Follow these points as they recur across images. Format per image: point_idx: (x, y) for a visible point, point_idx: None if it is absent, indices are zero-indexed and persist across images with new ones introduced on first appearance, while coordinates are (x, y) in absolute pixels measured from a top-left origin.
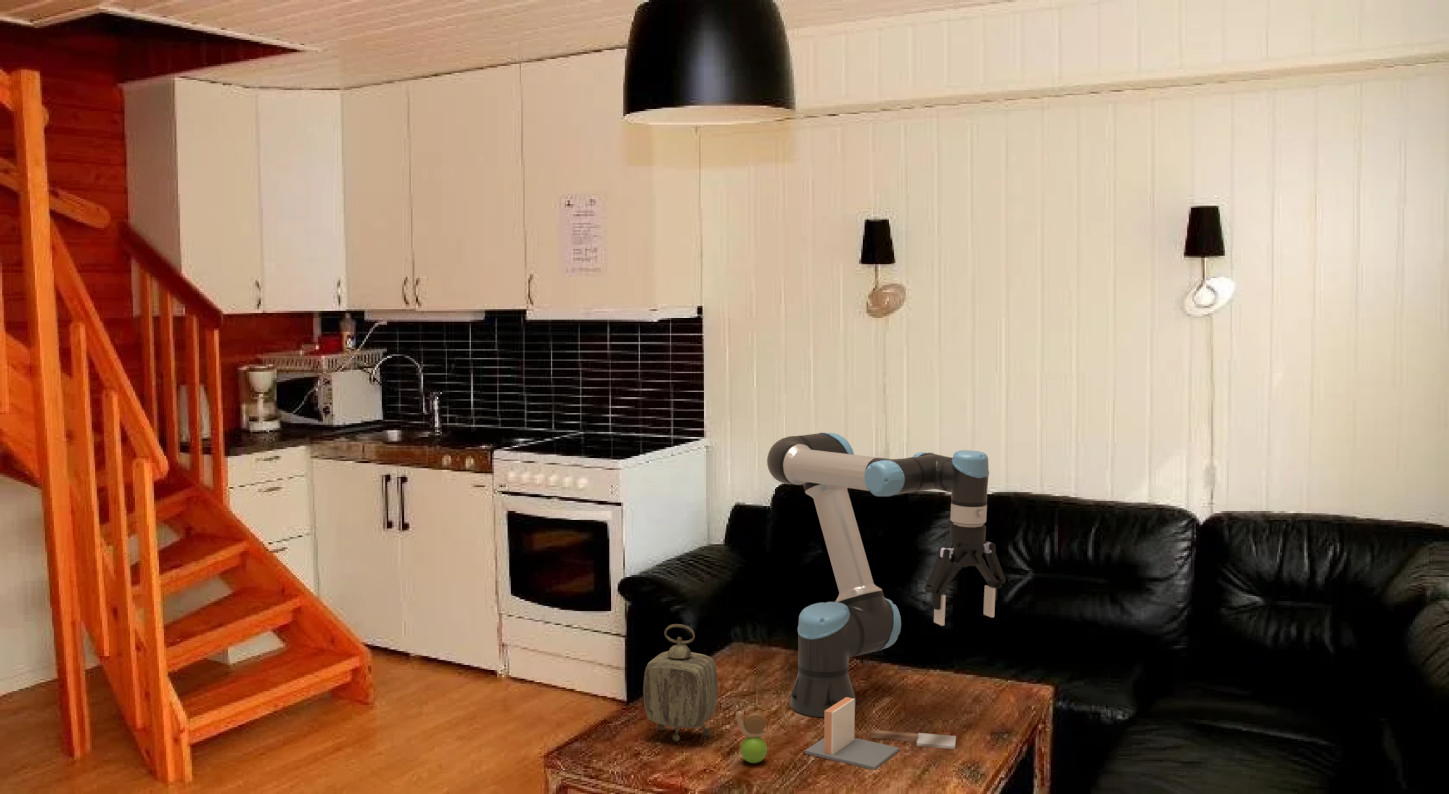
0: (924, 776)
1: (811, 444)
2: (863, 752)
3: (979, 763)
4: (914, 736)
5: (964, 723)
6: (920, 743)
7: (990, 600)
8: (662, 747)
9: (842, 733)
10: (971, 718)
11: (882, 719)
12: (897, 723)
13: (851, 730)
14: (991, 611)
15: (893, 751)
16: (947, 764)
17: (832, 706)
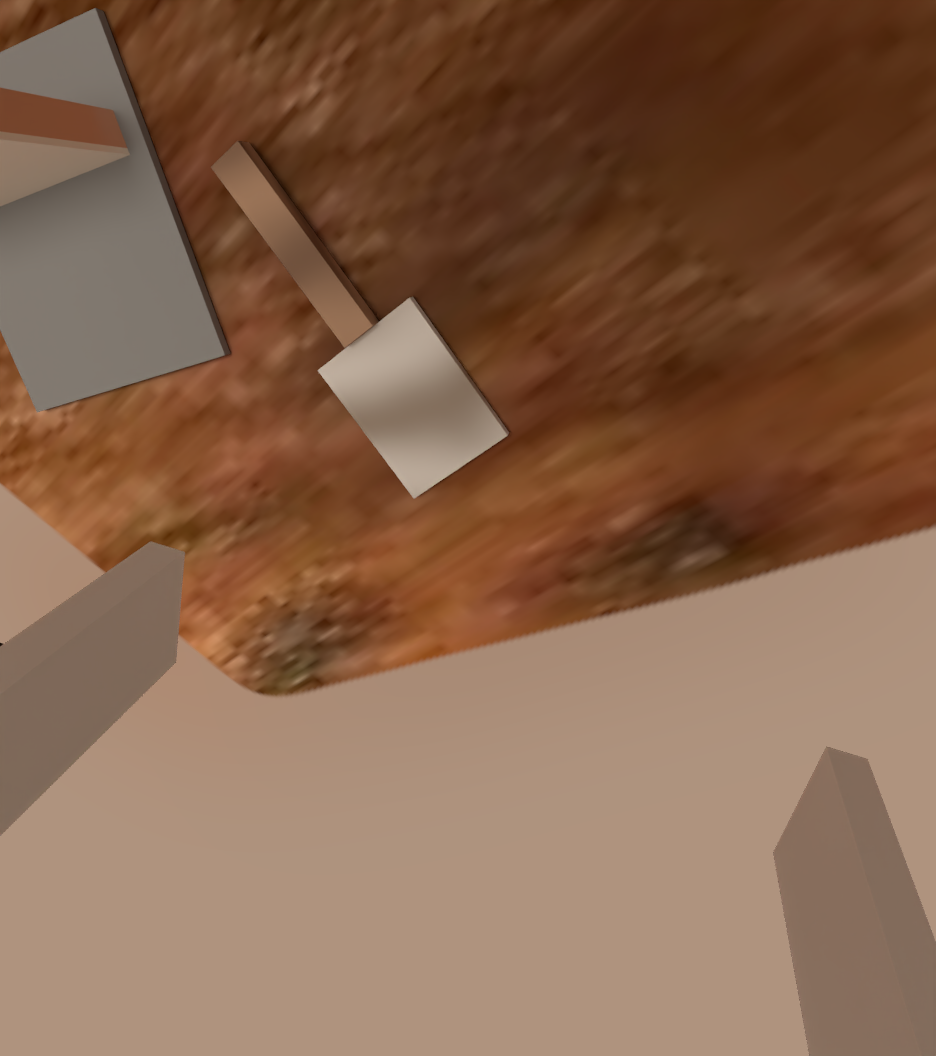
0: None
1: None
2: (80, 287)
3: (378, 630)
4: (336, 336)
5: (698, 347)
6: (327, 383)
7: (817, 998)
8: None
9: None
10: (787, 329)
11: (439, 12)
12: (454, 113)
13: (71, 161)
14: (787, 900)
15: (181, 364)
16: (283, 558)
17: None
